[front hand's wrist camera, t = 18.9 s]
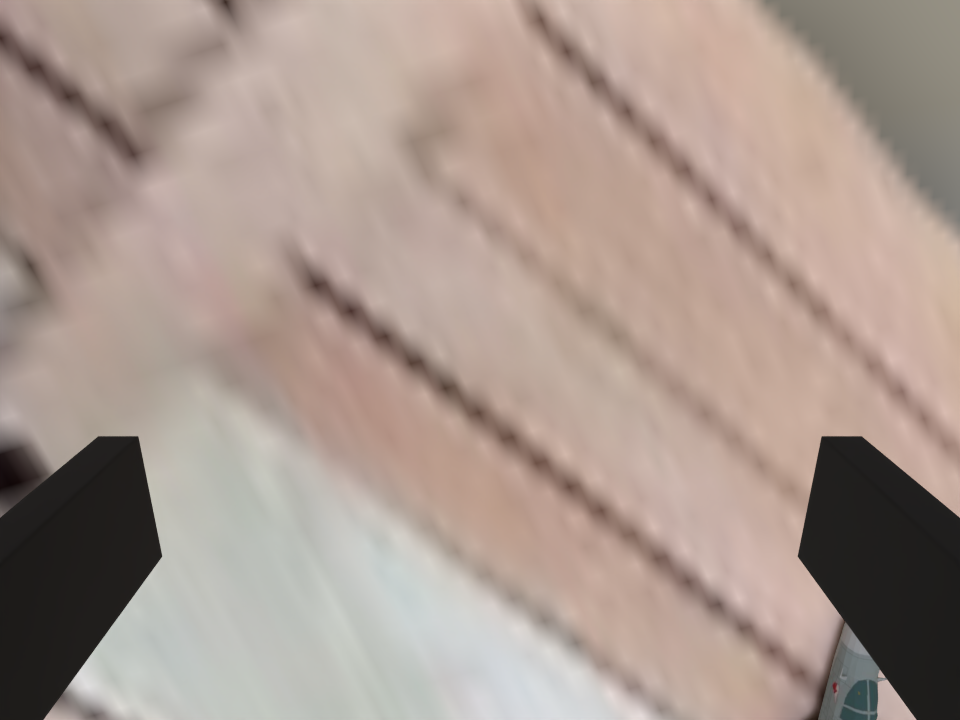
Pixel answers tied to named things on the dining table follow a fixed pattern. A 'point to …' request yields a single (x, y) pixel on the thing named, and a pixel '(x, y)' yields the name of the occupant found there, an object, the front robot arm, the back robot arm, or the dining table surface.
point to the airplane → (851, 682)
